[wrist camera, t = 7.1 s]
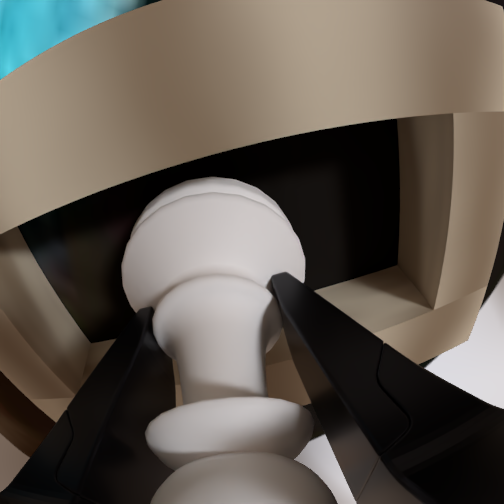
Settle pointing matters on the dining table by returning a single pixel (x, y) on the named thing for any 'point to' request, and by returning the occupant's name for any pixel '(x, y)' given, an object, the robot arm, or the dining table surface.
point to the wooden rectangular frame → (255, 131)
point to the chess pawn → (221, 343)
